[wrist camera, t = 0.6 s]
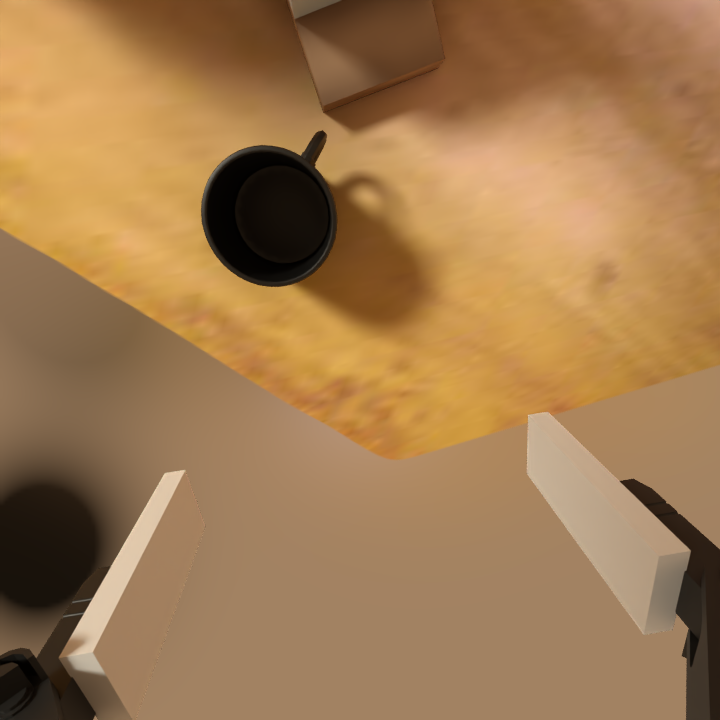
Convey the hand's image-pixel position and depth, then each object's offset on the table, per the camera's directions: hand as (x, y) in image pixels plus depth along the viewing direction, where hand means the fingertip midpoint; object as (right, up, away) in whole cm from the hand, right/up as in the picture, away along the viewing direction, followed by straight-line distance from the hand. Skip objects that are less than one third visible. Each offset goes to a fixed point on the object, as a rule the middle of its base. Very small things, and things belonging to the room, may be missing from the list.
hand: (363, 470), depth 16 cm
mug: (-6, +18, +21) cm, 29 cm away
